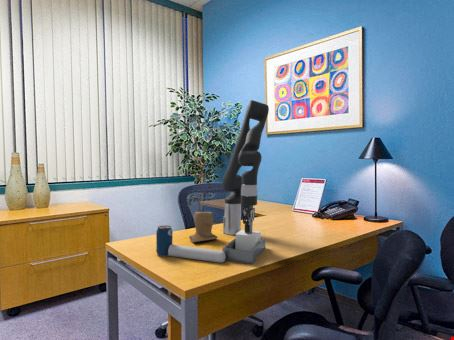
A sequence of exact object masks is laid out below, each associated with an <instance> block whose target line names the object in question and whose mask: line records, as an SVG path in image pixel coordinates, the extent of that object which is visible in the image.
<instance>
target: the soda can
mask: <svg viewBox="0 0 454 340" xmlns="http://www.w3.org/2000/svg"><path fill="white" fill-rule="evenodd" d="M155 232H156V239H155V240H156V241H155V242H156V243H155V244H156V245H155V249H156V250H155V252H156V254H157V255H158V256H159V257H160V256H161V257H167V256H168V257H169V255H168V249H169V246H170V245H171V244H173V233H174V232H173V229H172V226H171V225H158V226H157V229H156V231H155Z"/></svg>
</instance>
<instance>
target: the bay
mask: <svg viewBox="0 0 454 340" xmlns="http://www.w3.org/2000/svg"><path fill="white" fill-rule="evenodd" d="M265 249H266V237H263V238H261V241H260V242H259V243H258V244H257V245H256V246H255V247H254V248H253V249H252V250H251V251H247V250H239V249H235V238H233V240H231V241H230V242H228V243H227V244H226V245H225V246H223V247H222V250H221V251H223V252H224V253H225V255H226V258H225V261H224V262H234V263H242V264H249V265H253V264H254V263H255V262H256V261H257V259H258V258H259V257H260V255H261V254H262V253H263V252H264V251H265Z"/></svg>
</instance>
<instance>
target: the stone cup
mask: <svg viewBox="0 0 454 340" xmlns="http://www.w3.org/2000/svg"><path fill="white" fill-rule="evenodd" d="M193 222H194V225H195V228H194V229H195V233H194V234H191V235H189V237H188V239H189V240H190V241H191V243H200V242H206V241H212V240H216V239H218V238H219V237H218V236H217V235H215V234H213V232H212V230H213V225H214V213H213V212H212V211H195V212H194V215H193Z"/></svg>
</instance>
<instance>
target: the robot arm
mask: <svg viewBox="0 0 454 340" xmlns="http://www.w3.org/2000/svg"><path fill="white" fill-rule="evenodd" d="M269 111H270V108H269V105H268V104H266V103H262V102H259V101H256V100H253V99H251V100H250V101H249V102H248V104H247V106H246V110H245V113H244V116H243V117H244V118H243V121H242V125H241V129H240V131H239V134H238V136H237V140H236V143H235V146H234V149H233V152H232V155H231V157H230V161H229V163H228V166H227V169H226V170H225V173H224V176H223V178H222V180H221V181H222V182H221V185H222V189H223V190H224V192H229V195H227V196H226V197H225V198H224V216H223V222H222V224H223V225H222V227H223V228H222V234H225V235H230V236H236V233H238V232H239V231H240V230H242V228H241V227H242V225H241V224H242V223H243V224H244V230H245V233H249V232H250V221H252V222H254V221H255V213H256V212H255V211H256V208H255V207H254V206H257V205H258V174H259V168H260V165H261V163H262V153H261V152H260V151H259V149H260V146H261V139H262V135H263V132H264V129H265V125H266V122H267V119H268V115H269ZM250 120H254V121H258V123H257V124H256V125H254V126H253V127H252V128H251V126H250ZM242 167H252V168H251V170H248V171H247V170H246V171H243V172H242V173H241V175H240V174H238V173H239V170H240V169H241V168H242ZM242 206H244V209H243V211H242Z"/></svg>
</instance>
